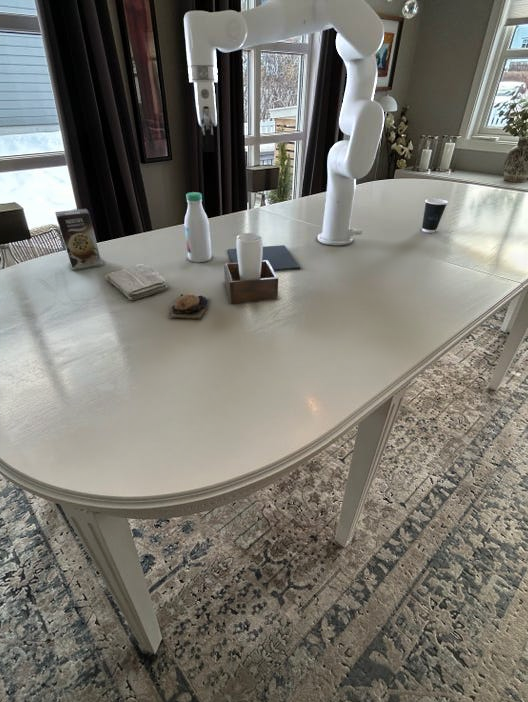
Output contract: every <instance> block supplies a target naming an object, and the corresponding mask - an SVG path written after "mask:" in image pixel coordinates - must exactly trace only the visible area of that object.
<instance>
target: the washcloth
mask: <svg viewBox="0 0 528 702" xmlns="http://www.w3.org/2000/svg"><path fill="white" fill-rule="evenodd" d="M106 279H107V281H109V282H110V283H111V284H112V285H113V286H114V287H116V289H118V290H119V291H121V293H122V294H124V296H125V297H126V298H128V300H129V301H136V300H138V299H141V298H146V297H147V296H151V295H154V294H157V293H160V292H163V291H166V290H168V289H169V286H168V285H167V284H166V278H164V277H163V276H162V275H161V273H160V272H158V271H156V270H154V269H153V268H152V267H149V266H148V265H146V264H145V263H139V264H135V265H132V266H130V267H127V268H124V269H119V270H116V271H112V272H109V273H107V274H106Z"/></svg>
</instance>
